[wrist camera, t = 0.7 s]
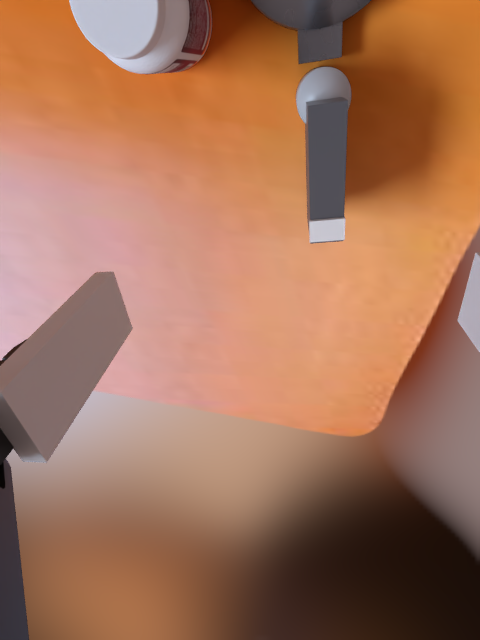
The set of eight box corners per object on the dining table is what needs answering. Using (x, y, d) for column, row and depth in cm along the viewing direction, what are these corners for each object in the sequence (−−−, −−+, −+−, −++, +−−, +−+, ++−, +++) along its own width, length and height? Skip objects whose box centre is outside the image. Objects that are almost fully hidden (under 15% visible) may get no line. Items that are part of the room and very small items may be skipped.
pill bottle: (162, -63, 24) (88, -139, 15) (230, 17, 26) (200, -9, 17) (116, 26, 27) (31, 6, 18) (180, 91, 29) (132, 102, 20)
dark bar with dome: (294, 71, 27) (296, 71, 21) (343, 63, 27) (361, 61, 20) (299, 209, 33) (302, 245, 27) (339, 206, 33) (352, 242, 26)
